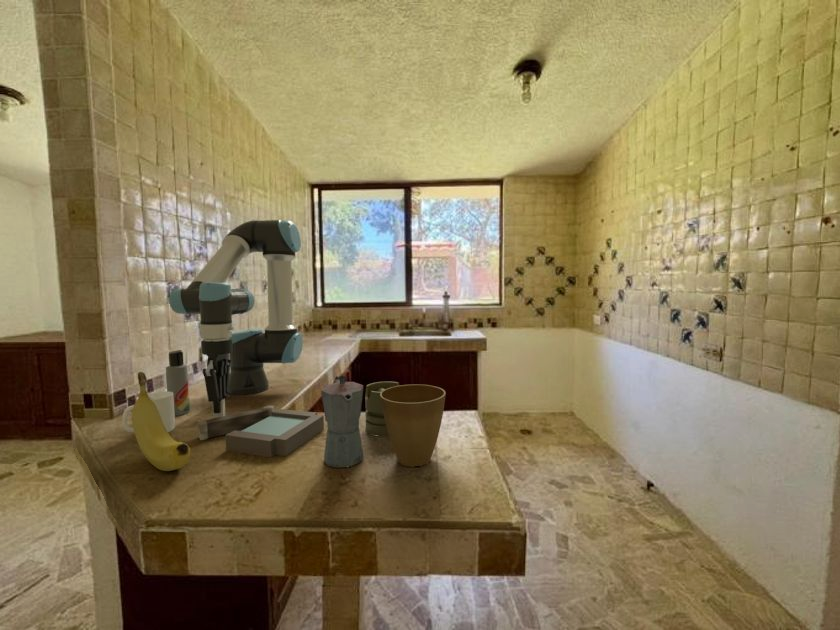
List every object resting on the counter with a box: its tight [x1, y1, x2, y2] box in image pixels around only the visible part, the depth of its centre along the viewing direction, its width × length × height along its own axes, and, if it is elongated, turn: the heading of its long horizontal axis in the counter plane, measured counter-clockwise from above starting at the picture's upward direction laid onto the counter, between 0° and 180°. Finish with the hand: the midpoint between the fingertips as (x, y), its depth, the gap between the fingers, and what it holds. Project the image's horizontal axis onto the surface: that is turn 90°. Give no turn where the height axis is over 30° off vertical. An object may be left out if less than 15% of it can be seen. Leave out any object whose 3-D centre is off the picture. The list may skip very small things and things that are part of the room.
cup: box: [121, 391, 176, 434], centre depth 101 cm, size 8×12×10 cm
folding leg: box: [197, 405, 275, 441], centre depth 103 cm, size 19×3×4 cm, turn 130°
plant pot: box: [380, 383, 446, 468], centre depth 85 cm, size 15×15×16 cm
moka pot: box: [320, 375, 364, 468], centre depth 85 cm, size 10×15×20 cm, turn 27°
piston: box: [364, 381, 400, 437], centre depth 104 cm, size 11×12×11 cm
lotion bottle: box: [165, 349, 190, 417], centre depth 117 cm, size 6×6×20 cm
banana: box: [131, 371, 191, 472], centre depth 83 cm, size 23×6×20 cm, turn 55°
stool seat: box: [224, 408, 325, 458], centre depth 98 cm, size 20×16×4 cm
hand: (219, 422), depth 103 cm, fingers closed
